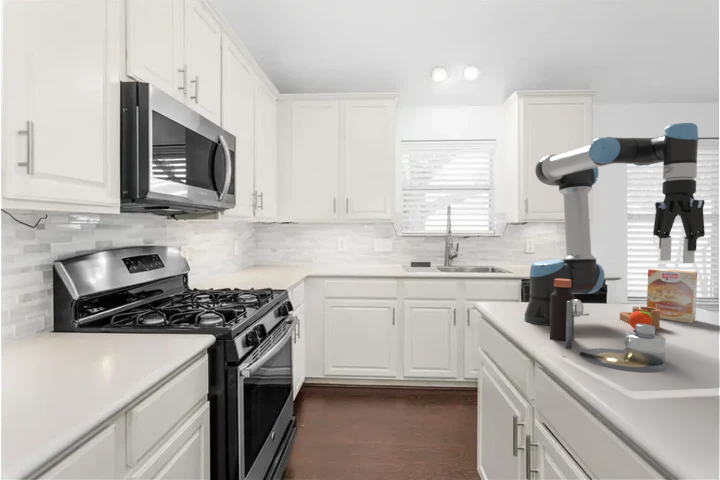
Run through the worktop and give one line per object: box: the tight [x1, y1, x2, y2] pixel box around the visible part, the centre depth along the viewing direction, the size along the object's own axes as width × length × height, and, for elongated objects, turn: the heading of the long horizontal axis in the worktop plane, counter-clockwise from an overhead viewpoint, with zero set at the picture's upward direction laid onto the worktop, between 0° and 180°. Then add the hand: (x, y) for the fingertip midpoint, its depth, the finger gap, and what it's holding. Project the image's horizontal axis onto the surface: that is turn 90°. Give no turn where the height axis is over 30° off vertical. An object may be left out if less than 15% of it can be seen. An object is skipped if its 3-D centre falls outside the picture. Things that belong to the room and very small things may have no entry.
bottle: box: [549, 279, 575, 343], centre depth 132 cm, size 7×7×20 cm
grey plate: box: [579, 347, 669, 374], centre depth 112 cm, size 20×20×1 cm
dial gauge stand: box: [565, 298, 590, 350], centre depth 122 cm, size 5×8×16 cm, turn 96°
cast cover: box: [623, 324, 666, 364], centre depth 113 cm, size 9×9×9 cm
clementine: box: [629, 311, 654, 330], centre depth 147 cm, size 8×7×7 cm
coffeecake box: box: [646, 267, 698, 324], centre depth 167 cm, size 15×7×20 cm, turn 43°
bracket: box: [619, 306, 661, 331], centre depth 158 cm, size 18×8×7 cm, turn 172°
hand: (676, 261), depth 118 cm, fingers open, 7 cm apart
